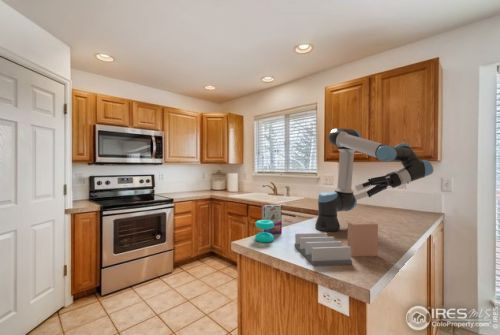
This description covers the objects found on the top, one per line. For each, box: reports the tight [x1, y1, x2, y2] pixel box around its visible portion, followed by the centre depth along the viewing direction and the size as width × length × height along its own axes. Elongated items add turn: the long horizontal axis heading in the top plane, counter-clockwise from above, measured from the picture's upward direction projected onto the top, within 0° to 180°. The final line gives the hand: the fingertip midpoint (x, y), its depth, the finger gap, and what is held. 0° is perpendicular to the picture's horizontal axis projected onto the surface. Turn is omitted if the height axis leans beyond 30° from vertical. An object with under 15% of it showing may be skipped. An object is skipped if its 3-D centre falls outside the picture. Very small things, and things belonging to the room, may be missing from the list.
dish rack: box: [294, 232, 353, 267], centre depth 106 cm, size 24×16×6 cm, turn 7°
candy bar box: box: [261, 204, 283, 235], centre depth 141 cm, size 11×5×16 cm, turn 105°
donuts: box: [254, 219, 275, 243], centre depth 126 cm, size 10×10×10 cm
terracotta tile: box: [347, 221, 379, 258], centre depth 107 cm, size 4×12×14 cm, turn 97°
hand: (355, 193), depth 122 cm, fingers open, 13 cm apart
